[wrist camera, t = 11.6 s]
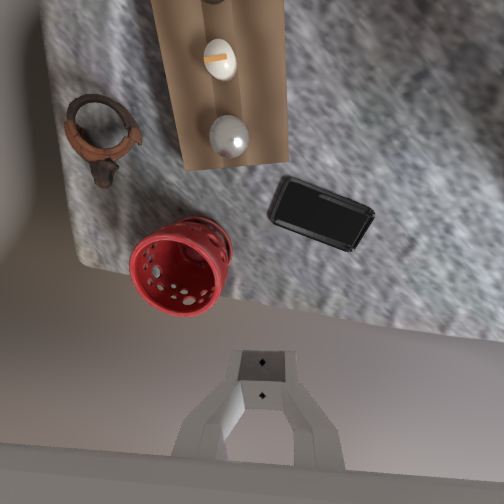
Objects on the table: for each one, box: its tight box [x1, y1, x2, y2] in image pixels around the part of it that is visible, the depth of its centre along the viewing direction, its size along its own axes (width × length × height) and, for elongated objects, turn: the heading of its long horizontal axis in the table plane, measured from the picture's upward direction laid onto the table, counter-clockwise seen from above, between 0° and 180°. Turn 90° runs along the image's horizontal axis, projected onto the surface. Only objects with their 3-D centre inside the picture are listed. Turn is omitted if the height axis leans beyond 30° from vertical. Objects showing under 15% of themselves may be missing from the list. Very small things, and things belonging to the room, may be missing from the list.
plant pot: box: [129, 216, 232, 317], centre depth 38 cm, size 13×13×12 cm
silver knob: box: [209, 115, 250, 158], centre depth 31 cm, size 5×5×7 cm
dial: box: [204, 39, 237, 82], centre depth 26 cm, size 3×3×3 cm
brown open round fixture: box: [64, 94, 142, 189], centre depth 35 cm, size 12×9×8 cm
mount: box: [151, 0, 289, 171], centre depth 30 cm, size 14×22×5 cm, turn 6°
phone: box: [270, 177, 375, 252], centre depth 39 cm, size 8×1×15 cm
